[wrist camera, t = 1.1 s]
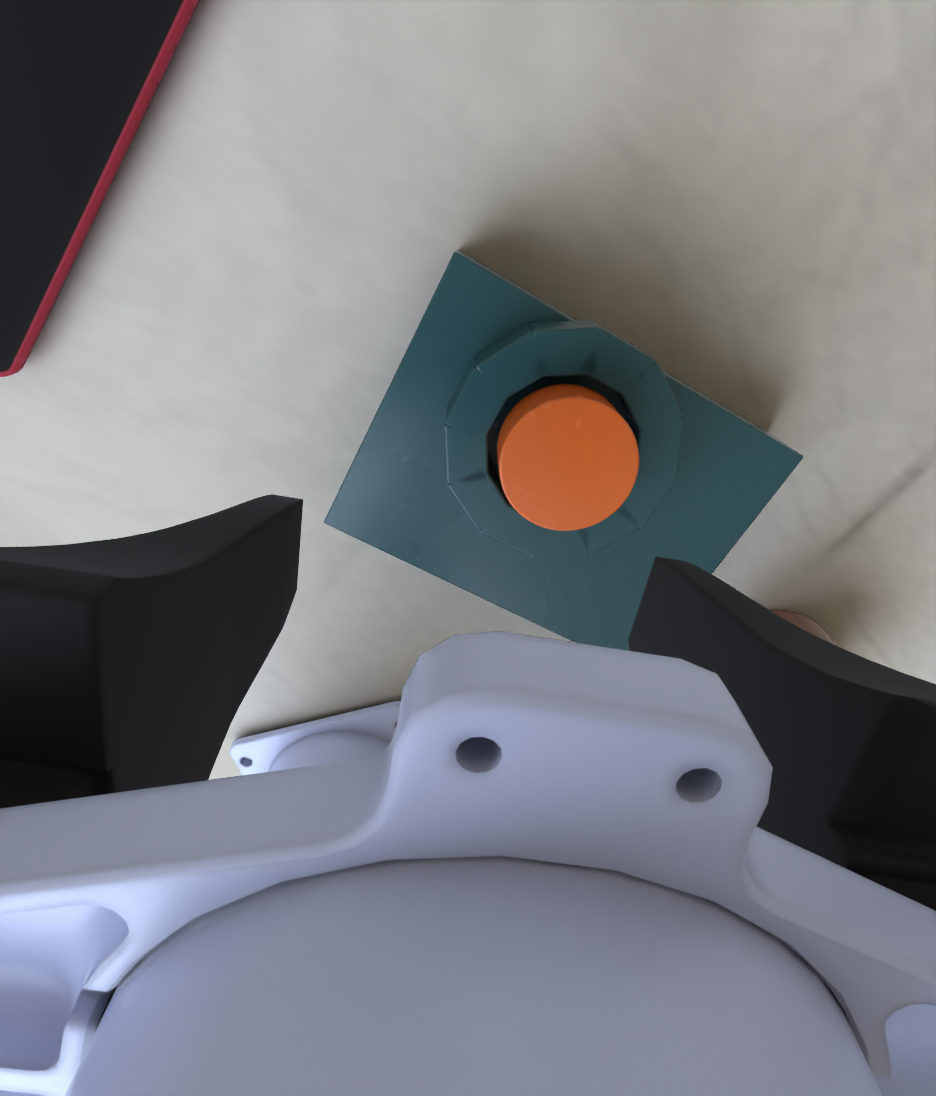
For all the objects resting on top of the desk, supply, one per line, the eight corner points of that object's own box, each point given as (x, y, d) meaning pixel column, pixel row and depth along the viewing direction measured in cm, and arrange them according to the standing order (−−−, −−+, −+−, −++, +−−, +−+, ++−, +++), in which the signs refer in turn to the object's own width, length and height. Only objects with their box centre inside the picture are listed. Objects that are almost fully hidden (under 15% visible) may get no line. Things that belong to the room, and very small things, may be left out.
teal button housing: (773, 426, 22) (839, 468, 18) (620, 630, 26) (647, 703, 22) (461, 241, 20) (457, 242, 16) (338, 493, 24) (310, 546, 19)
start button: (651, 422, 18) (668, 440, 17) (580, 527, 20) (590, 553, 18) (538, 358, 17) (545, 370, 16) (473, 472, 19) (474, 494, 17)
